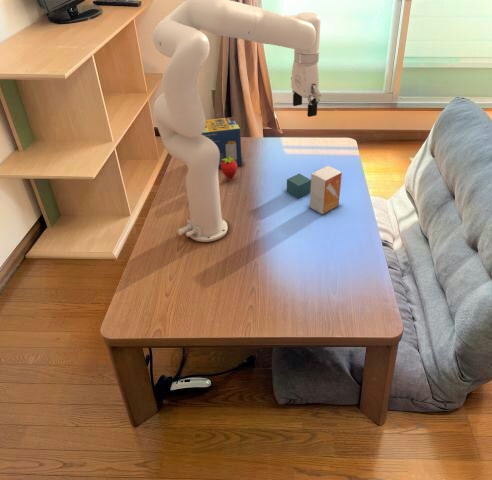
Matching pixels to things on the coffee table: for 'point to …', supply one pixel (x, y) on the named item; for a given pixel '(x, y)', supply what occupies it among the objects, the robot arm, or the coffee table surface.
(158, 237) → the coffee table surface
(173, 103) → the robot arm
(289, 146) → the coffee table surface
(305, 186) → the teal block
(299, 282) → the coffee table surface
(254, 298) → the coffee table surface
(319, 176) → the small box
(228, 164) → the strawberry
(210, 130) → the protein box
